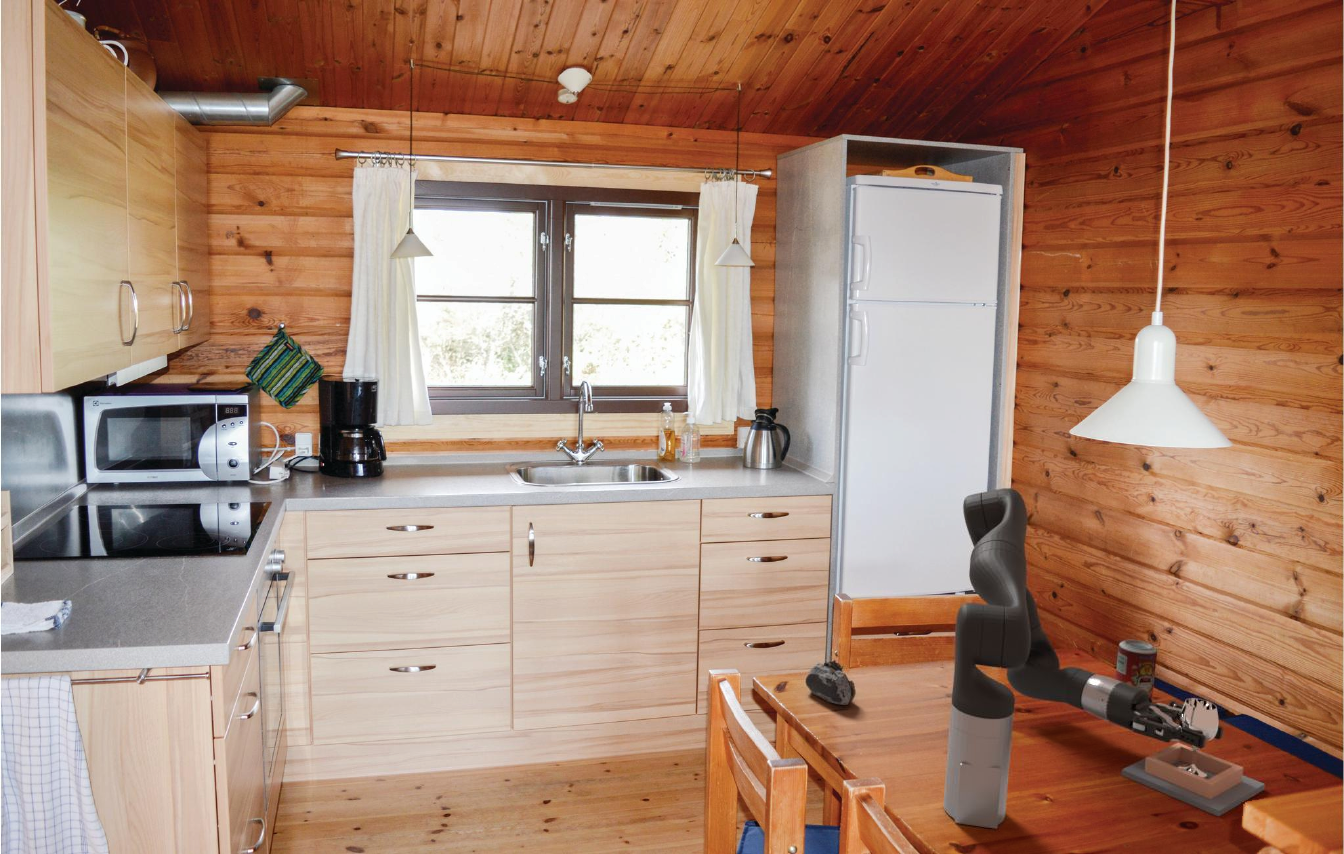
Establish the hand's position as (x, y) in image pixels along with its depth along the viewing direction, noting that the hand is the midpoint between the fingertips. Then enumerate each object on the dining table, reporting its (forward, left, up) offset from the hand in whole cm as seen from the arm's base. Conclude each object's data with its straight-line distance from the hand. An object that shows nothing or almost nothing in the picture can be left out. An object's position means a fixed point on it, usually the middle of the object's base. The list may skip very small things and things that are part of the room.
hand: (1212, 737), depth 162 cm
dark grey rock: (+20, +62, -9) cm, 66 cm away
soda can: (+36, +4, -9) cm, 37 cm away
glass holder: (+2, +2, -9) cm, 9 cm away
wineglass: (+2, +2, -7) cm, 8 cm away
